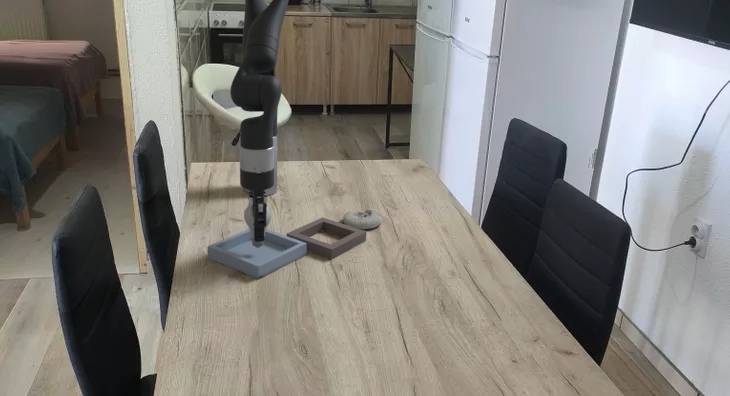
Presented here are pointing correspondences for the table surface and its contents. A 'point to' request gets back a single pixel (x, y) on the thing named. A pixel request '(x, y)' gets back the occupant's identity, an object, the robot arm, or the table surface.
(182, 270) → the table surface
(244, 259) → the tray
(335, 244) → the brownish grey square frame
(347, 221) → the fossil
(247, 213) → the lightbulb
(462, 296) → the table surface
